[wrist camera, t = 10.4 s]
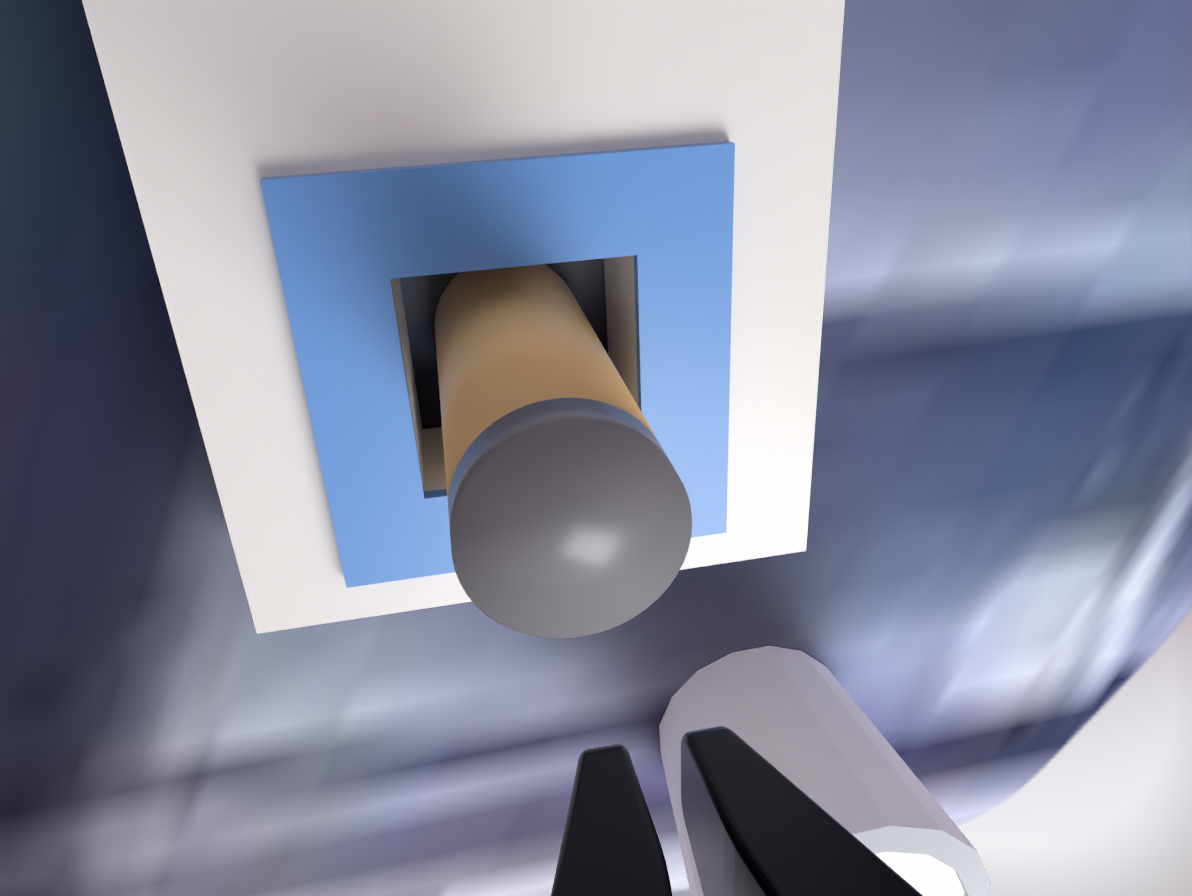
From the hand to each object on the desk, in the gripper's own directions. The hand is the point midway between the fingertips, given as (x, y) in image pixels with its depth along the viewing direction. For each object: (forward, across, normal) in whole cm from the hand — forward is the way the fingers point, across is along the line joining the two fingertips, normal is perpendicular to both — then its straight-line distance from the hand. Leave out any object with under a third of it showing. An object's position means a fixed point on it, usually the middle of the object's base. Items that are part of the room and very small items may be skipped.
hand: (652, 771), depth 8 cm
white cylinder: (+13, -6, +13) cm, 19 cm away
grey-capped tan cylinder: (+13, 0, 0) cm, 13 cm away
